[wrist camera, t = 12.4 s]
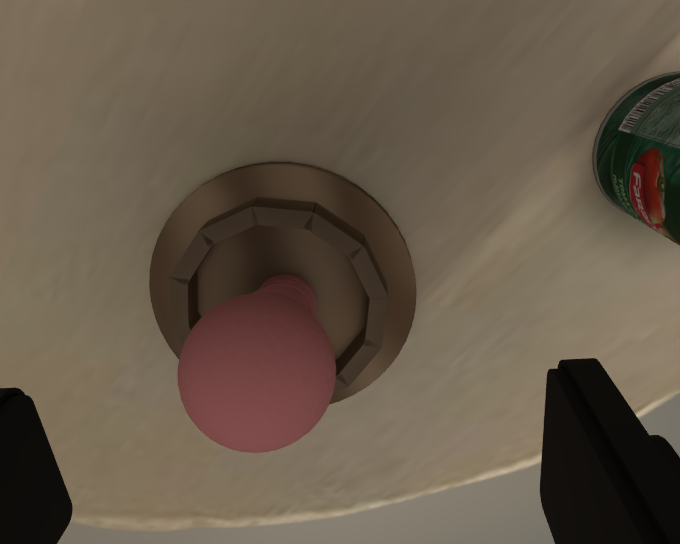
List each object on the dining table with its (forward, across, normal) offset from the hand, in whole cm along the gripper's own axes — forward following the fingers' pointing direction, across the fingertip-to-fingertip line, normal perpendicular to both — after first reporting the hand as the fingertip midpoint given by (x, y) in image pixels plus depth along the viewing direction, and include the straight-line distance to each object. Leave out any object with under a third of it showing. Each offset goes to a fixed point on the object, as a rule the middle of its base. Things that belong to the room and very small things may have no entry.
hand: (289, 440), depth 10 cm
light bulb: (+22, +4, +8) cm, 24 cm away
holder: (+23, +4, +8) cm, 24 cm away
